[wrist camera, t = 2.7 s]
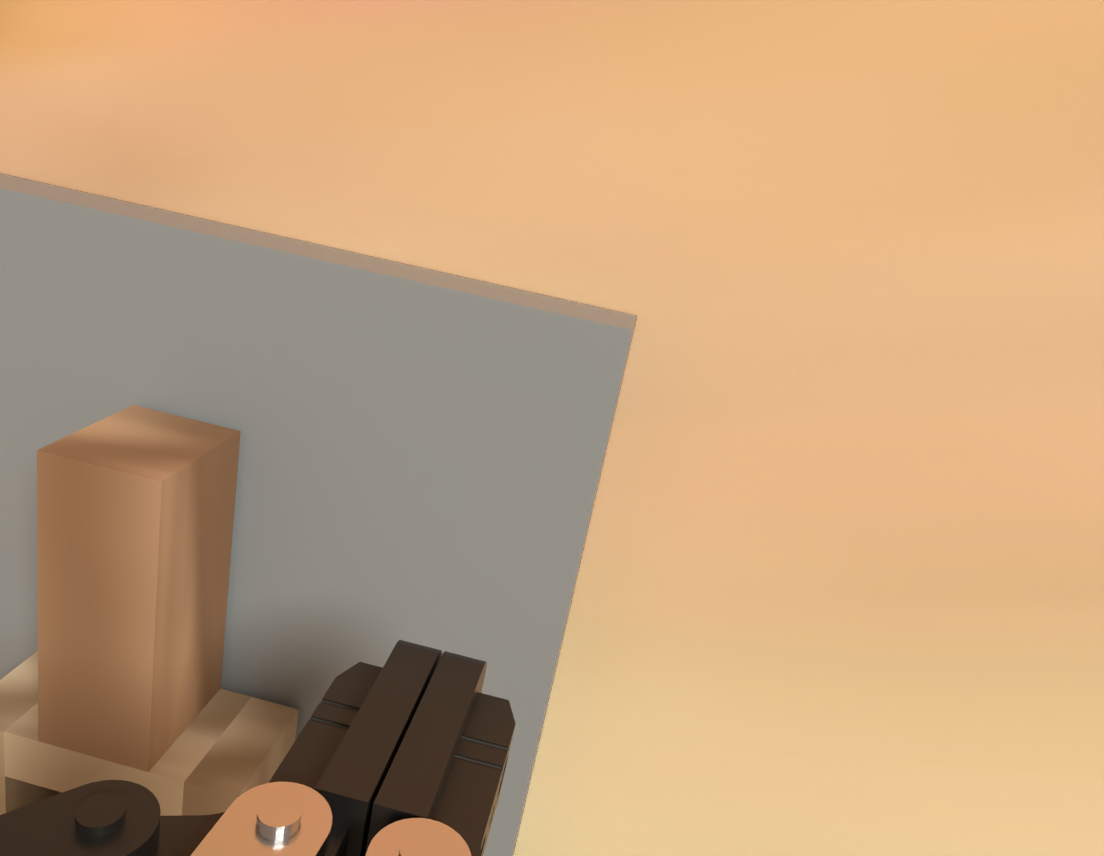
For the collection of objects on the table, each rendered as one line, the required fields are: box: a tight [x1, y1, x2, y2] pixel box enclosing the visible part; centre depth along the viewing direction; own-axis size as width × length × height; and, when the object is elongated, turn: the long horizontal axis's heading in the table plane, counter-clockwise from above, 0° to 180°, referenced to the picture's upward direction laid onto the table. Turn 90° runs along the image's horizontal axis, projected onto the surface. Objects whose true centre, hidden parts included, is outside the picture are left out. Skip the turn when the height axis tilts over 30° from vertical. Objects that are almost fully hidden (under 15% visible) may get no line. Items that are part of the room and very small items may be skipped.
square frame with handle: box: [0, 405, 299, 816], centre depth 20 cm, size 6×13×3 cm, turn 169°
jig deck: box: [0, 173, 637, 856], centre depth 23 cm, size 18×28×2 cm, turn 169°
